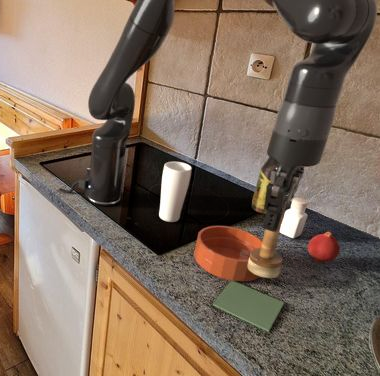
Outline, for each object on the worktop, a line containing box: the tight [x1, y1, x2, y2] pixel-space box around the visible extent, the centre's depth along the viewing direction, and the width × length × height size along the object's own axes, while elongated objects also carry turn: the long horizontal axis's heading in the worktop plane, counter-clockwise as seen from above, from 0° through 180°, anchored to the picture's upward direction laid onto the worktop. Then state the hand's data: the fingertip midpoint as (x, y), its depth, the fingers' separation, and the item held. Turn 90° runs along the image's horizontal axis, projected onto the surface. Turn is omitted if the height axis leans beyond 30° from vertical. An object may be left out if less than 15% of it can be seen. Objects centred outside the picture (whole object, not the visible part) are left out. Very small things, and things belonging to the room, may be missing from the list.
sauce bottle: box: [251, 156, 279, 215], centre depth 109 cm, size 6×6×20 cm
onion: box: [307, 231, 341, 264], centre depth 90 cm, size 6×6×8 cm
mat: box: [212, 280, 285, 333], centre depth 78 cm, size 10×10×1 cm
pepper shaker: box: [279, 197, 309, 239], centre depth 100 cm, size 4×4×10 cm
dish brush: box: [247, 202, 287, 279], centre depth 71 cm, size 5×5×14 cm
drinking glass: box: [158, 161, 192, 223], centre depth 105 cm, size 7×7×15 cm
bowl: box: [193, 225, 263, 282], centre depth 89 cm, size 14×14×6 cm
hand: (271, 226), depth 70 cm, fingers closed on dish brush
